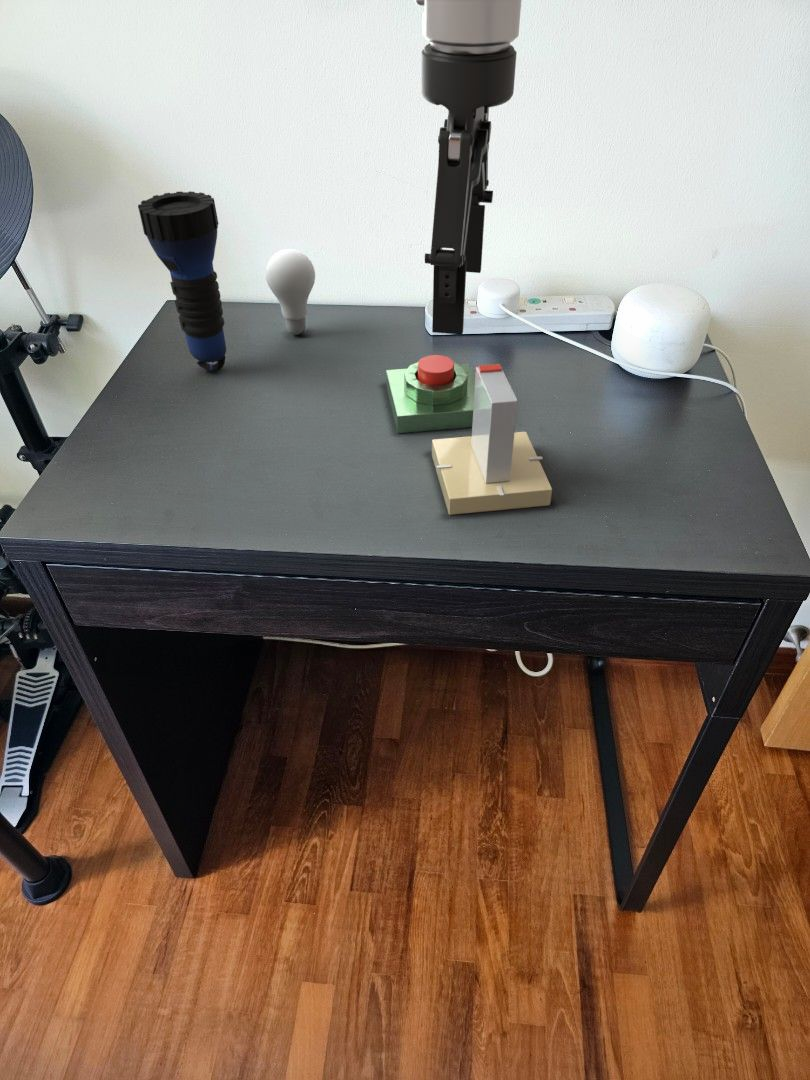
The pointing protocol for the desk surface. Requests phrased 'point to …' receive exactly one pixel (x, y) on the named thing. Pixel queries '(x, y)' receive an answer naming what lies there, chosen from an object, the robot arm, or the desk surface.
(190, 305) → the flashlight
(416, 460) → the desk surface
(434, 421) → the control block
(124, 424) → the desk surface
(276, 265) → the lightbulb
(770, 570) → the desk surface
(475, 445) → the tap handle
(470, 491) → the panel
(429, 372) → the stop button
